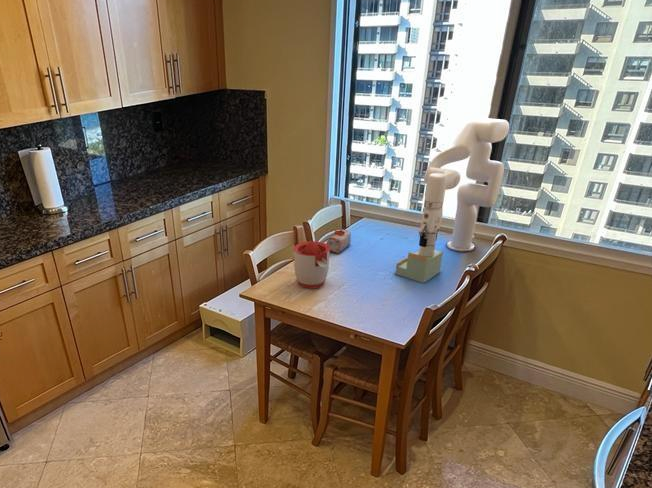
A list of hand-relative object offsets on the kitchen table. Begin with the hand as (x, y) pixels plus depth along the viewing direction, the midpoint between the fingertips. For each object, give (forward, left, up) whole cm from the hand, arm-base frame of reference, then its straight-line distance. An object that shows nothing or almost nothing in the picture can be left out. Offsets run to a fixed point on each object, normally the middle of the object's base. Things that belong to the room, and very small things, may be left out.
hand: (427, 243), depth 223 cm
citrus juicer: (+40, -32, -15) cm, 53 cm away
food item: (+1, -47, -15) cm, 49 cm away
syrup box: (0, 0, -5) cm, 5 cm away
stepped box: (+1, -2, -15) cm, 15 cm away
